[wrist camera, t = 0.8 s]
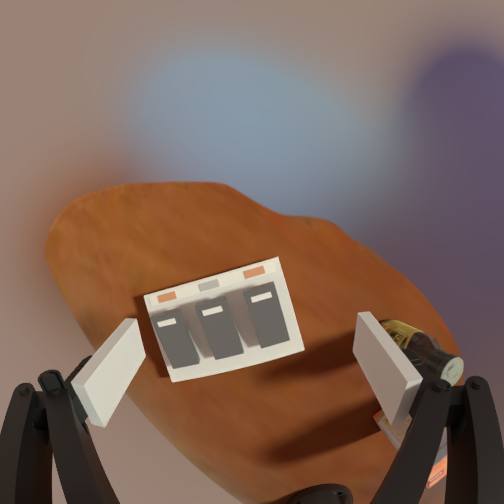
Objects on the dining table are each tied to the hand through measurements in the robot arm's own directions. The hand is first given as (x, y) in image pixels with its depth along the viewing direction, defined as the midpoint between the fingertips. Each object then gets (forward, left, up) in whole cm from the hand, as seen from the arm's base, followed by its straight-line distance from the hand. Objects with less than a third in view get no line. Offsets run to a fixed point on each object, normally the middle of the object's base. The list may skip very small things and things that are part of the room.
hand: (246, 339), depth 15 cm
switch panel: (-3, +6, -29) cm, 29 cm away
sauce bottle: (-14, -20, -29) cm, 38 cm away
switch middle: (-3, +6, -24) cm, 25 cm away
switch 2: (-3, -1, -24) cm, 24 cm away
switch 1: (-3, +13, -24) cm, 28 cm away
